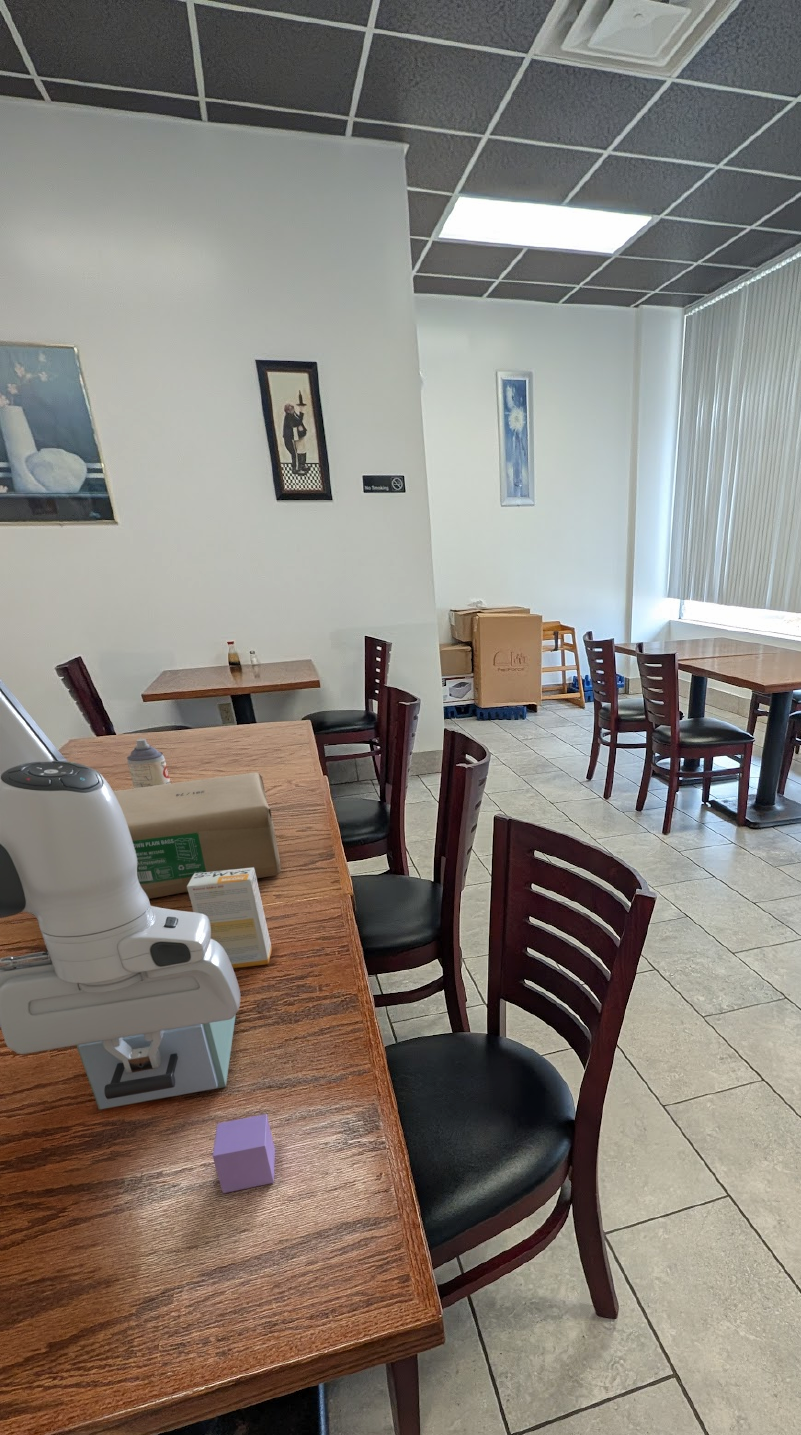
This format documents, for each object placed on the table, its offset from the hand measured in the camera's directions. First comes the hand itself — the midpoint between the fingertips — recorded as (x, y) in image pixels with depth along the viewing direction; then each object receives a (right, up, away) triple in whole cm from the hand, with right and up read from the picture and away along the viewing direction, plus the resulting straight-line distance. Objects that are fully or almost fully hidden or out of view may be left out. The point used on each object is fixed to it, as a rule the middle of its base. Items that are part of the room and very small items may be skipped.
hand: (144, 1067), depth 74 cm
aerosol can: (-37, +32, +83) cm, 96 cm away
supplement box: (-2, +9, +33) cm, 34 cm away
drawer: (-2, -2, +8) cm, 8 cm away
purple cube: (+12, -9, -4) cm, 15 cm away
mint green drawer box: (-3, -1, +12) cm, 12 cm away
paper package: (-21, +24, +66) cm, 73 cm away
